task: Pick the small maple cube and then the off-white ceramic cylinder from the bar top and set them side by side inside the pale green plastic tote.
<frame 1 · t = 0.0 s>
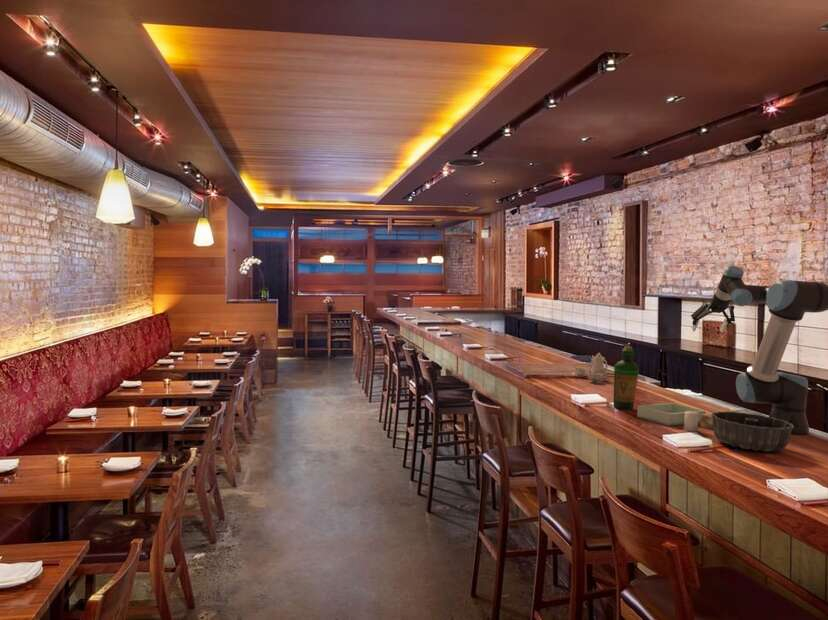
hand: (707, 330, 297), 36 cm above the bar counter, tool tilted 35°, fingers open, 13 cm apart
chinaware: (592, 380, 353), on the bar counter
tote: (670, 419, 257), on the bar counter
cylinder: (690, 430, 241), on the bar counter
bottle: (623, 408, 276), on the bar counter
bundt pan: (748, 446, 222), on the bar counter
cube: (709, 427, 248), on the bar counter
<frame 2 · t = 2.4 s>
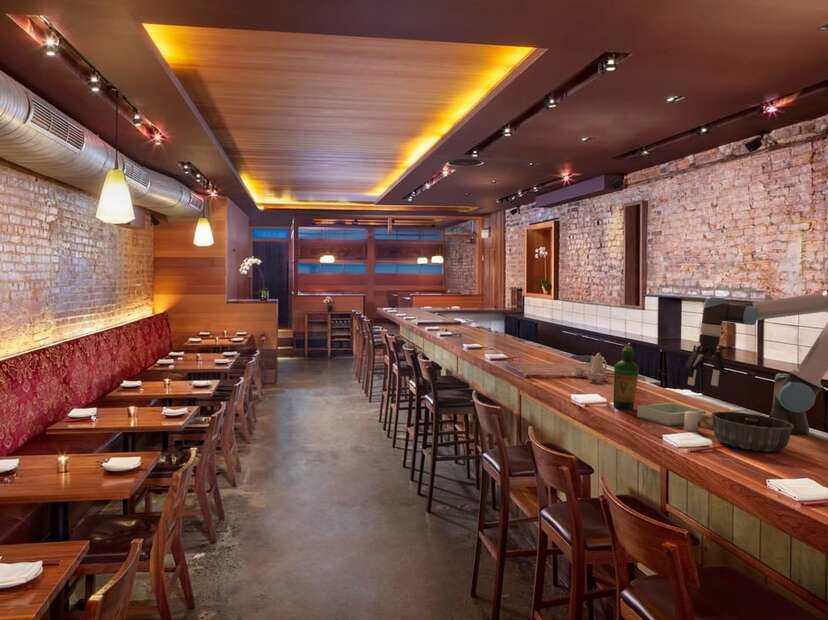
hand: (702, 385, 252), 16 cm above the bar counter, tool pointing down, fingers open, 13 cm apart
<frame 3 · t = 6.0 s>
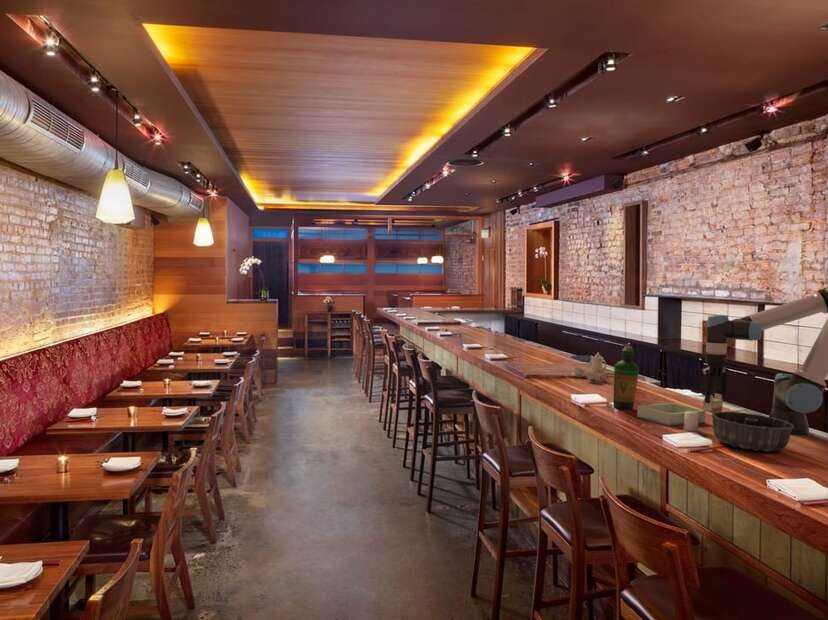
hand: (712, 410, 247), 7 cm above the bar counter, tool pointing down, fingers closed on cube, 5 cm apart
cube: (712, 411, 247), point 7 cm above the bar counter, touching gripper
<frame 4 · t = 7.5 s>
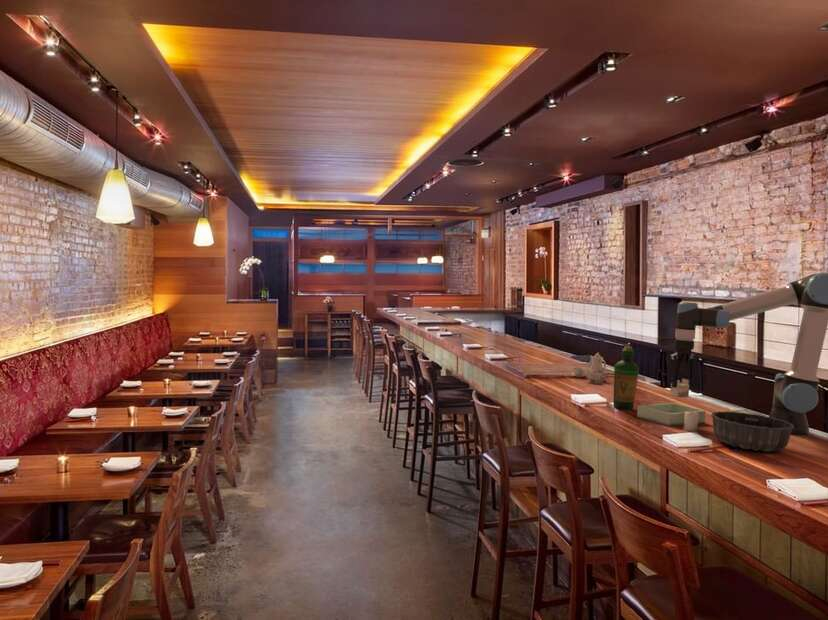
hand: (679, 394, 254), 11 cm above the bar counter, tool pointing down, fingers closed on cube, 5 cm apart
cube: (679, 395, 254), point 11 cm above the bar counter, touching gripper
everything else where it was.
when the fingers open (1 cm above the bar counter, at t = 9.4 s): cube stays where it is, resting on tote.
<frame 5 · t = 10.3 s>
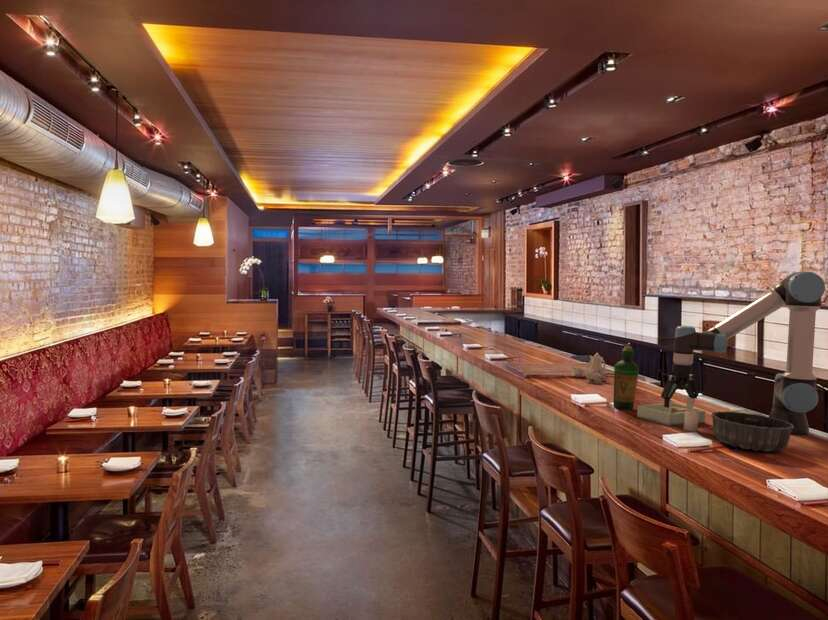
hand: (678, 414, 254), 3 cm above the bar counter, tool pointing down, fingers open, 13 cm apart
cube: (677, 419, 254), point 1 cm above the bar counter, touching tote
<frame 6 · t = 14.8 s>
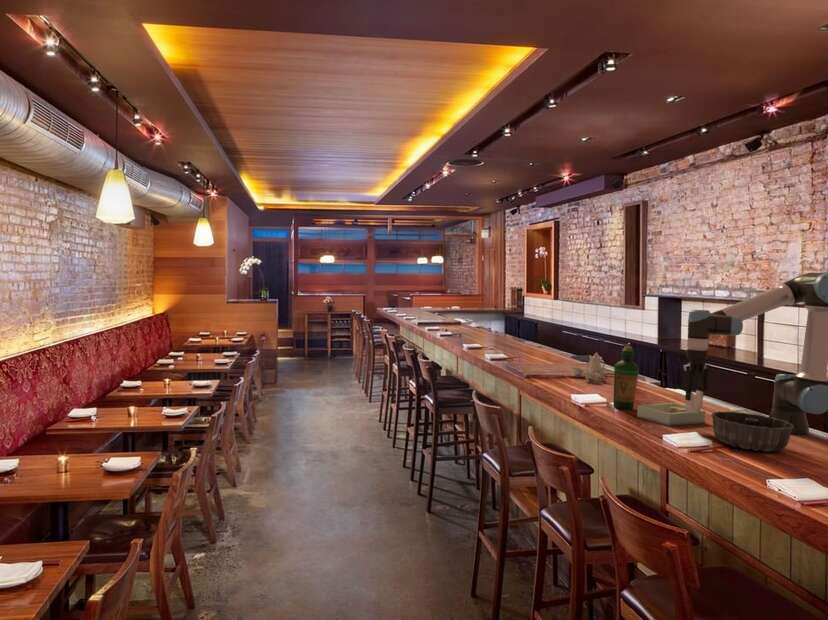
hand: (693, 407, 240), 9 cm above the bar counter, tool pointing down, fingers closed on cylinder, 5 cm apart
cylinder: (693, 412, 240), point 7 cm above the bar counter, touching gripper
when the fingers open (2 cm above the bar counter, at t = 18.4 s): cylinder stays where it is, resting on tote.
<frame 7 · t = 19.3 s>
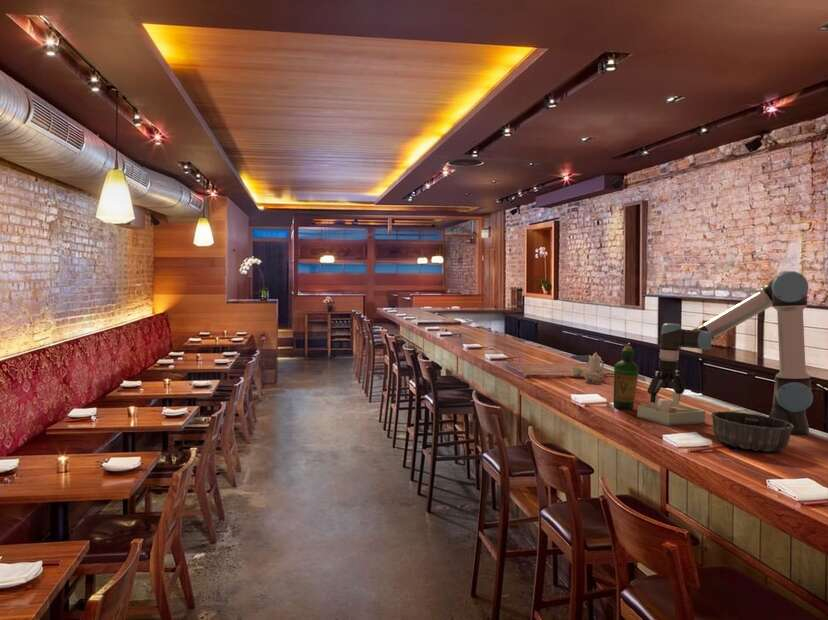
hand: (664, 409, 260), 4 cm above the bar counter, tool pointing down, fingers open, 13 cm apart
cylinder: (663, 416, 260), point 1 cm above the bar counter, touching tote
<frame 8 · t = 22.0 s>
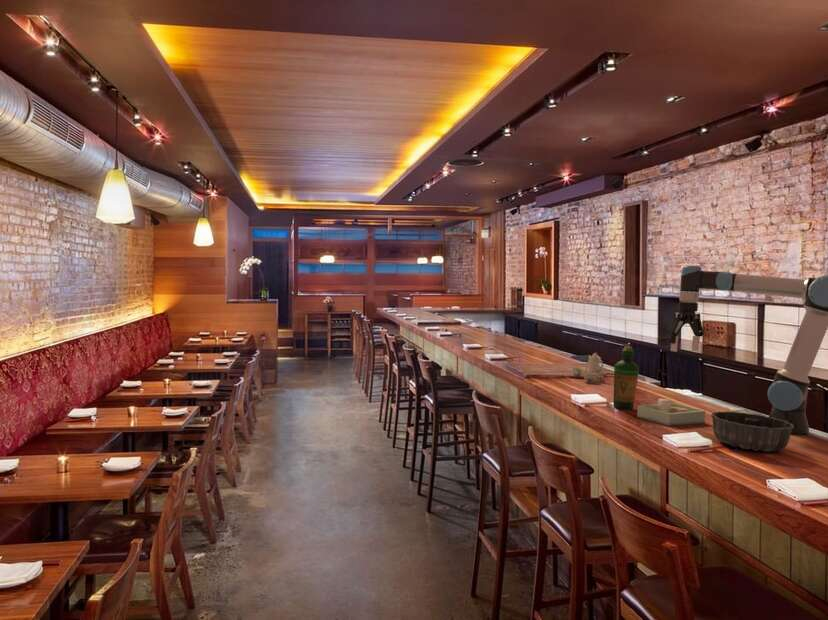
hand: (684, 351, 262), 29 cm above the bar counter, tool pointing down, fingers open, 13 cm apart
at the end: cube inside the target area on the tote (3.3 cm from its centre), point 0.8 cm above the tote's base; cylinder inside the target area on the tote (3.5 cm from its centre), point 0.8 cm above the tote's base; the gripper is holding nothing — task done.
